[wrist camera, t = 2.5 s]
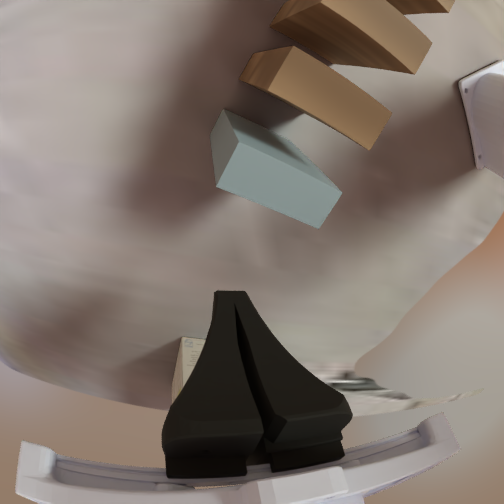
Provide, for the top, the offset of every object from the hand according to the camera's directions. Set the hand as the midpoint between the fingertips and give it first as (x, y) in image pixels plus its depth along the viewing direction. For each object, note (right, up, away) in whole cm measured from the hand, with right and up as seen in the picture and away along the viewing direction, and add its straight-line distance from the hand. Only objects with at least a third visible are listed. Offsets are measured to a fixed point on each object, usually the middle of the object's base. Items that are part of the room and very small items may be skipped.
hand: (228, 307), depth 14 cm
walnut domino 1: (+5, +17, +2) cm, 17 cm away
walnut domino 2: (+3, +13, +4) cm, 14 cm away
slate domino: (+1, +10, +6) cm, 12 cm away
